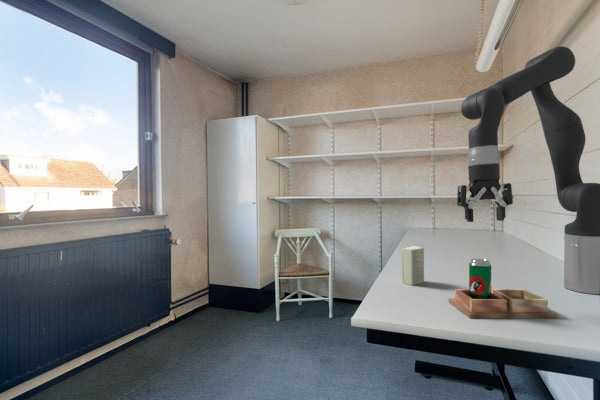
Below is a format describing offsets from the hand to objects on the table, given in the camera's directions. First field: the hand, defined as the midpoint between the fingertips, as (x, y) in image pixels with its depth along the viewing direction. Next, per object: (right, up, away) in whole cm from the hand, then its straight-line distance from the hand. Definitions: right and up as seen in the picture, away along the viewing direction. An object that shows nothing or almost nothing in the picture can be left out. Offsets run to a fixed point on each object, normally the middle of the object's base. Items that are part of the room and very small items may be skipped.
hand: (485, 221), depth 86 cm
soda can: (-5, -22, -6) cm, 23 cm away
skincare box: (-13, -23, +18) cm, 32 cm away
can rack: (0, -23, -6) cm, 24 cm away
